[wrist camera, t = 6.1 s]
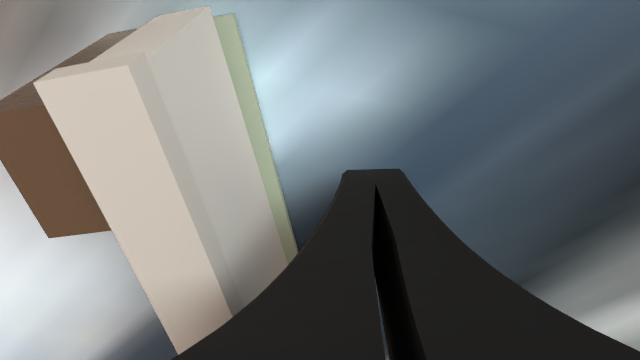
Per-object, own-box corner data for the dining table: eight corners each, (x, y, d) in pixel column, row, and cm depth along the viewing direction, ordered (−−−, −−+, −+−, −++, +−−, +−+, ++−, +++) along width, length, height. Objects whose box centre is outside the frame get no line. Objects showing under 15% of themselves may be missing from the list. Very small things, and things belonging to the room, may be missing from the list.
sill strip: (234, 13, 11) (232, 15, 11) (318, 328, 16) (318, 333, 16) (169, 25, 11) (167, 27, 11) (274, 332, 17) (273, 336, 16)
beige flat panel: (317, 351, 16) (308, 499, 12) (277, 355, 16) (257, 502, 12) (211, -3, 10) (128, 65, 6) (151, 9, 10) (32, 82, 6)
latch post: (166, 23, 11) (63, 101, 7) (198, 116, 12) (126, 228, 8) (108, 34, 11) (-27, 116, 7) (145, 124, 12) (48, 237, 8)
